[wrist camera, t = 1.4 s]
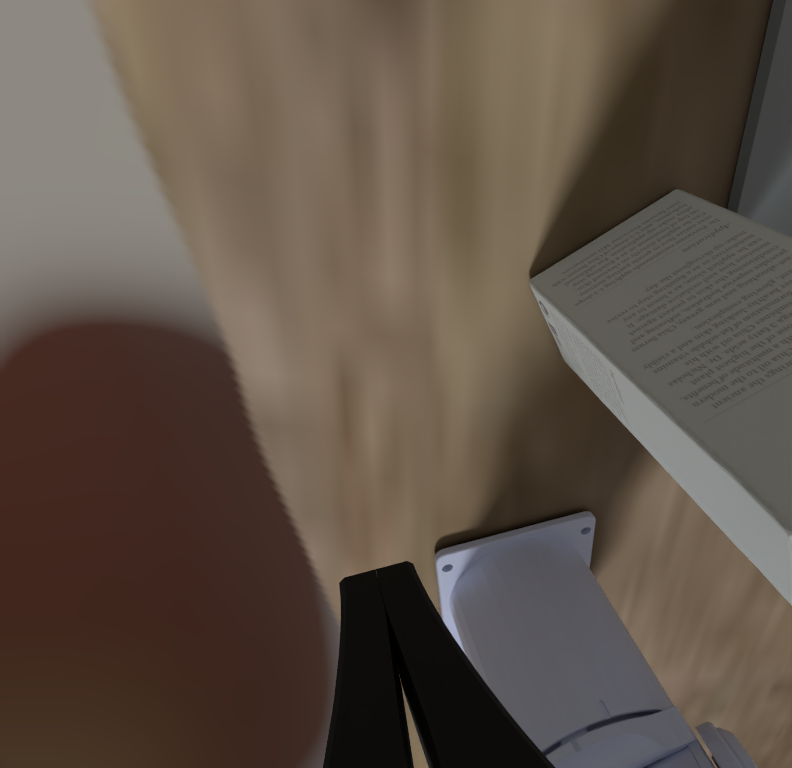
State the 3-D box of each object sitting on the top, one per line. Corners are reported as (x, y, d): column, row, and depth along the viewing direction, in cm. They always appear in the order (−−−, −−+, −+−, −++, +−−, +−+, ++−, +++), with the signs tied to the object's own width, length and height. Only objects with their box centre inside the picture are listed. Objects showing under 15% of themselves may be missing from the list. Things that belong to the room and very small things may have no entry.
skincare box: (562, 361, 23) (805, 635, 13) (523, 277, 20) (789, 539, 10) (702, 278, 22) (1073, 502, 12) (681, 181, 19) (1123, 363, 10)
